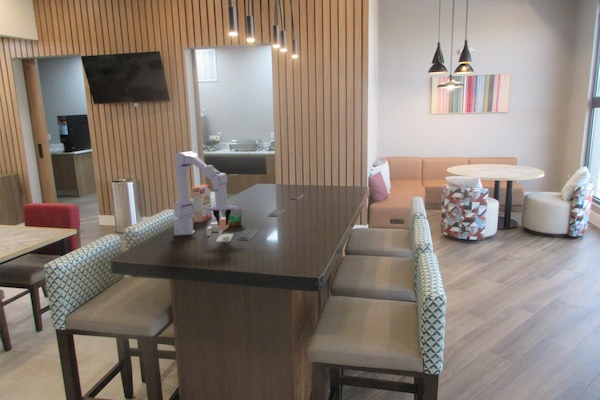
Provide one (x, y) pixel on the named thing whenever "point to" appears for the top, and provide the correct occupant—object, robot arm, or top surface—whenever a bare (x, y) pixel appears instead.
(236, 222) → the food container
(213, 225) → the white u-shaped piece
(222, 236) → the white rectangular board
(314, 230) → the top surface
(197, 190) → the cracker box
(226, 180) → the robot arm
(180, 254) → the top surface
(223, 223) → the salmon pink rectangular prism
